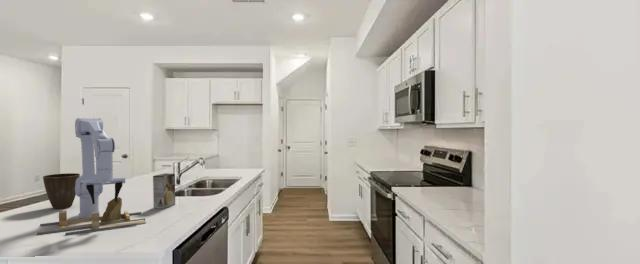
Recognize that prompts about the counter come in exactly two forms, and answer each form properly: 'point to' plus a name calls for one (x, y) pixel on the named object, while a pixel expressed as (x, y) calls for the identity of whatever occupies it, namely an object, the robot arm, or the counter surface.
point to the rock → (112, 210)
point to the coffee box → (164, 190)
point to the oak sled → (84, 220)
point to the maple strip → (96, 224)
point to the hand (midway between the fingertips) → (104, 202)
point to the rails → (89, 227)
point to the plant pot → (61, 189)
